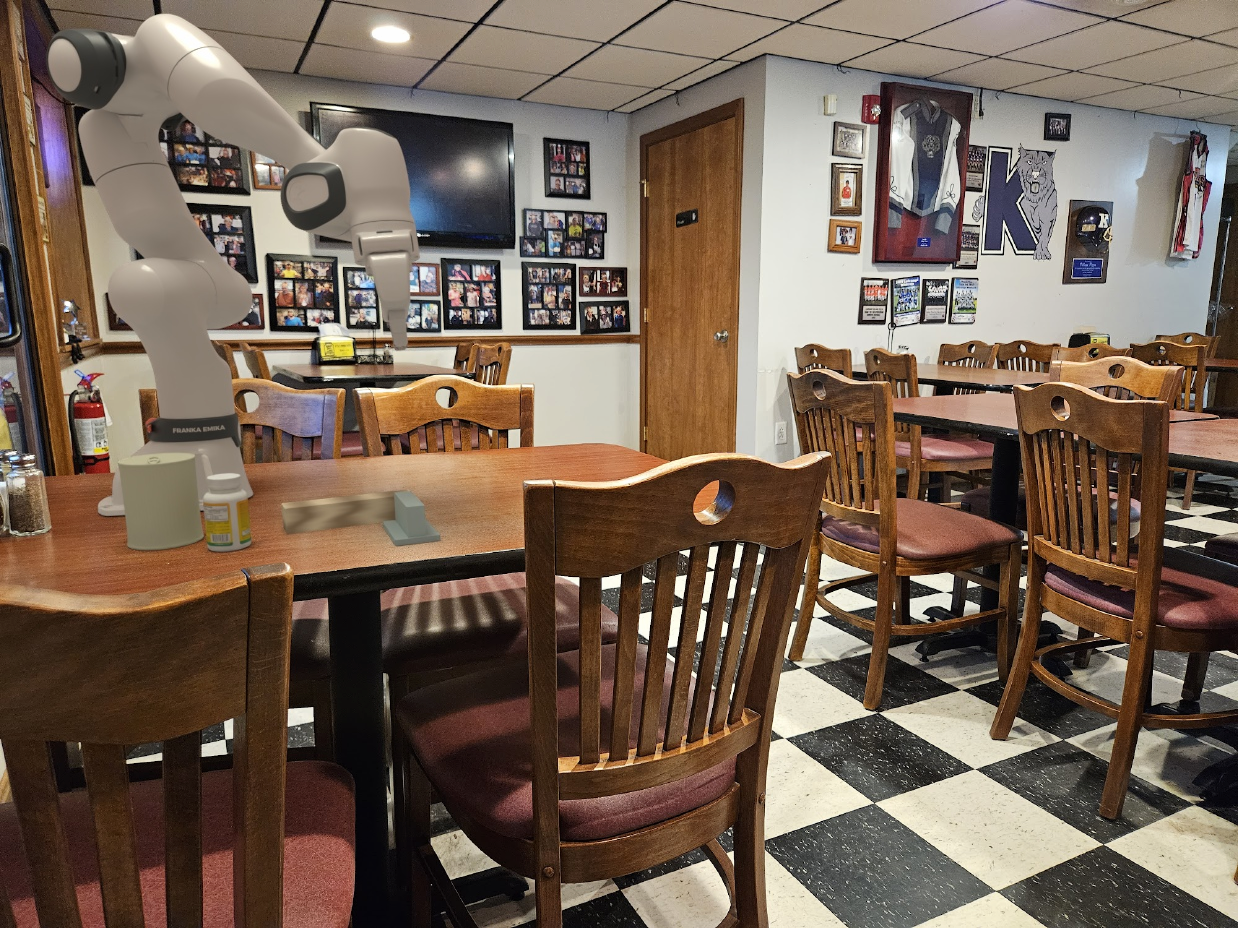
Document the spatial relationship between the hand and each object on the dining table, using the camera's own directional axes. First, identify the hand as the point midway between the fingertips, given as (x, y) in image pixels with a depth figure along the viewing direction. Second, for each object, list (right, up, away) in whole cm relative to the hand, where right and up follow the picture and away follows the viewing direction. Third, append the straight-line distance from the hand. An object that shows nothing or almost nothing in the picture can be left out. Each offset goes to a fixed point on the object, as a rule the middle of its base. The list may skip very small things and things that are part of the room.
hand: (401, 348), depth 114 cm
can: (-31, -27, -3) cm, 42 cm away
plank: (-9, -25, +6) cm, 28 cm away
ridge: (+1, -26, -1) cm, 26 cm away
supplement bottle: (-21, -28, -6) cm, 35 cm away
